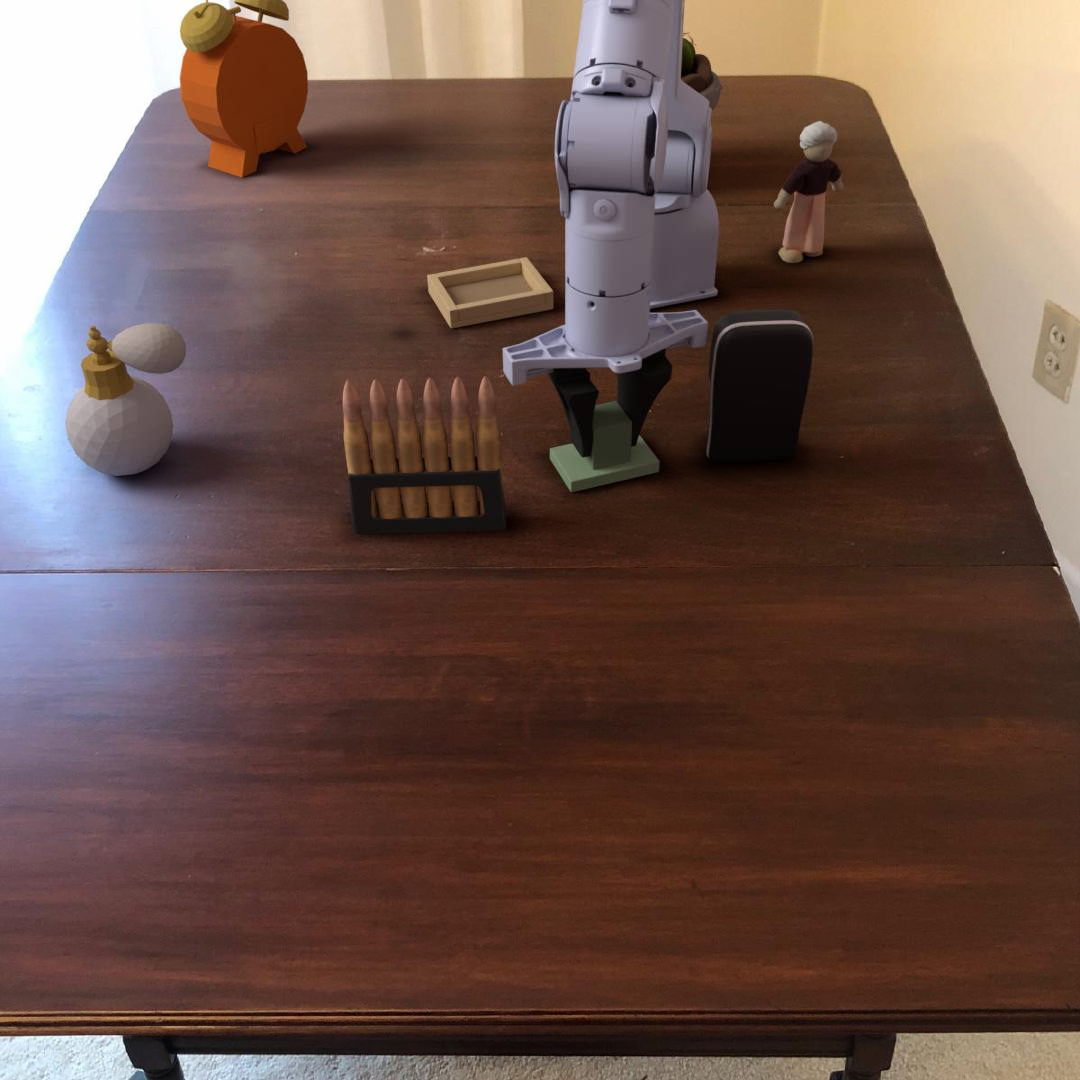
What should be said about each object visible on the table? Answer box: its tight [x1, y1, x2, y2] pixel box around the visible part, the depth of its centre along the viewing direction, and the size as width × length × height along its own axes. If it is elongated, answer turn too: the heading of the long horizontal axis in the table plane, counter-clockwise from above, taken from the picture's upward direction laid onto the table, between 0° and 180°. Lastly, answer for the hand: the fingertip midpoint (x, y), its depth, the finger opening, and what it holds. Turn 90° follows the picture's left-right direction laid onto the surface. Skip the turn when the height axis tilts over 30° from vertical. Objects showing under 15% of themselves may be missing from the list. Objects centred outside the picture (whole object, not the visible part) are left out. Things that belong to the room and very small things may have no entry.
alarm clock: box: [179, 0, 309, 179], centre depth 130 cm, size 13×6×20 cm, turn 144°
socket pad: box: [426, 256, 554, 330], centre depth 110 cm, size 10×7×2 cm
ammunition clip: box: [342, 375, 507, 535], centre depth 82 cm, size 11×2×12 cm, turn 92°
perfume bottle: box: [64, 322, 187, 477], centre depth 88 cm, size 8×10×12 cm
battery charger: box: [705, 309, 814, 463], centre depth 89 cm, size 7×4×11 cm, turn 93°
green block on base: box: [549, 400, 660, 493], centre depth 90 cm, size 7×4×4 cm, turn 110°
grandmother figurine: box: [773, 120, 844, 264], centre depth 113 cm, size 8×4×13 cm, turn 131°
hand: (604, 444), depth 90 cm, fingers closed on green block on base, 3 cm apart
